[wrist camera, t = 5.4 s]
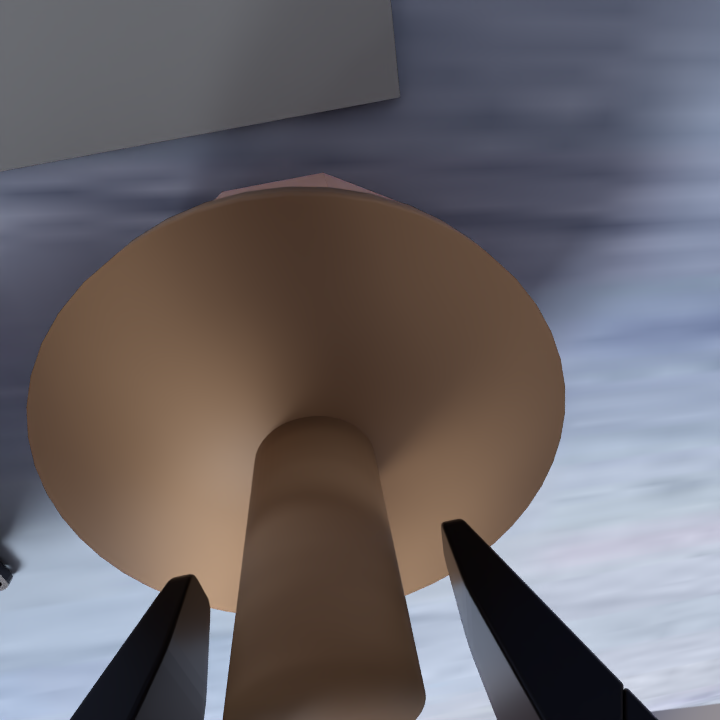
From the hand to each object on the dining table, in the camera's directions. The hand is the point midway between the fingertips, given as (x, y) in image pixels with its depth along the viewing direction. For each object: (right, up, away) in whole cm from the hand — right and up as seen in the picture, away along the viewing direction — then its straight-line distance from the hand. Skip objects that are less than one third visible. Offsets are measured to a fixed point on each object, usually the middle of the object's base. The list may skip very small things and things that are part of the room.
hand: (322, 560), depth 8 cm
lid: (0, +2, +3) cm, 4 cm away
